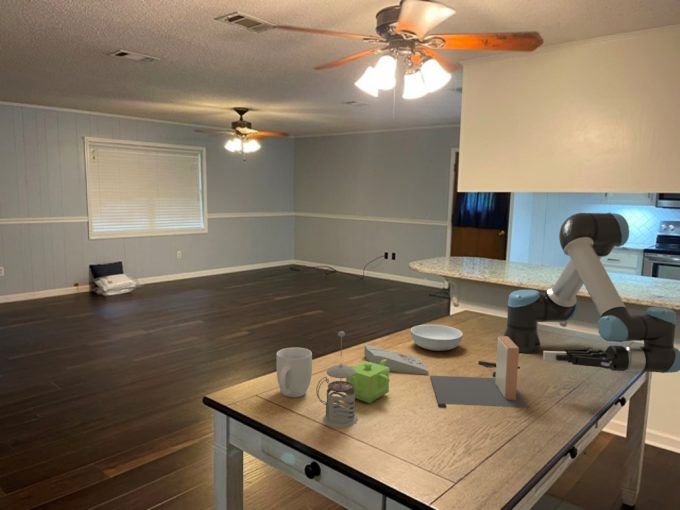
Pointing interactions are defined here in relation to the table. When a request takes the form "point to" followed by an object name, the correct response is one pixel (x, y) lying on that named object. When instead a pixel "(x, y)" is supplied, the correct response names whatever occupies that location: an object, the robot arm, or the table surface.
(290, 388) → the mug
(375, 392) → the teapot
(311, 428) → the table surface
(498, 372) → the tile
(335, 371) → the french press
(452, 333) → the serving bowl
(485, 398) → the mat
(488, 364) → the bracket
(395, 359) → the ramp
